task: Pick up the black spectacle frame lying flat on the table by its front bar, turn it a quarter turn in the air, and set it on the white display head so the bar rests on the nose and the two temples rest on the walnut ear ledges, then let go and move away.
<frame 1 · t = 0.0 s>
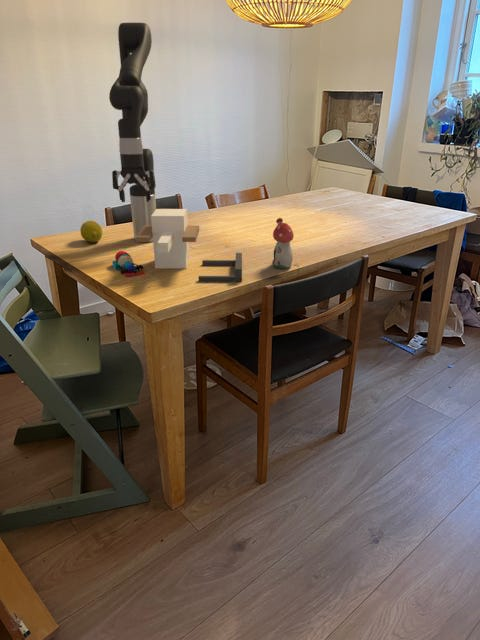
hand: (135, 201, 165), 17 cm above the table, tool pointing down, fingers open, 8 cm apart
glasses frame: (238, 272, 150), on the table
toy figure: (127, 270, 154), on the table
display head: (168, 274, 148), on the table
decorative ornament: (281, 266, 157), on the table
lemon: (92, 242, 182), on the table
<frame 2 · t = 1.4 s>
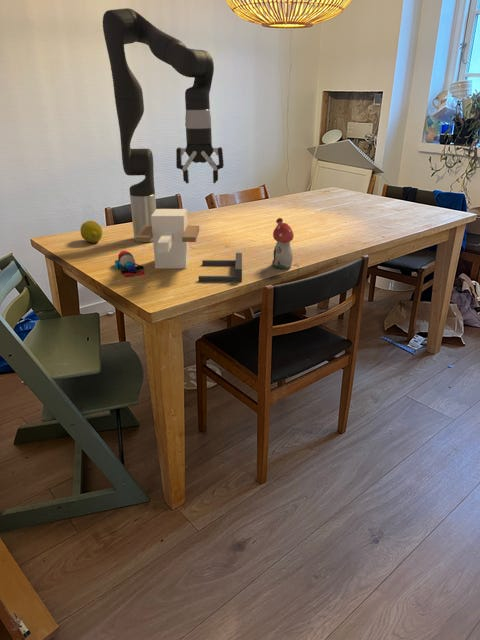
hand: (200, 182, 148), 26 cm above the table, tool pointing down, fingers open, 8 cm apart
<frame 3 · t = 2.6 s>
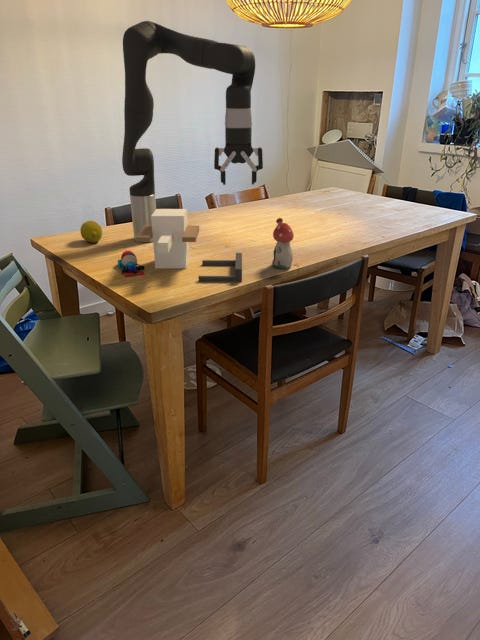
hand: (238, 184, 142), 26 cm above the table, tool pointing down, fingers open, 8 cm apart
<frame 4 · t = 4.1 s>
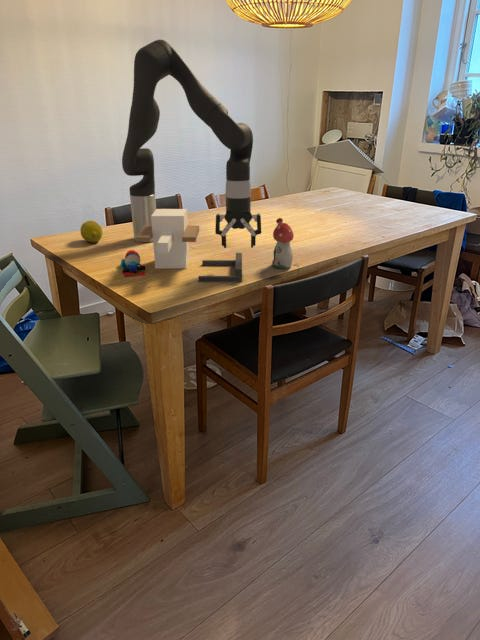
hand: (238, 247, 150), 7 cm above the table, tool pointing down, fingers open, 8 cm apart
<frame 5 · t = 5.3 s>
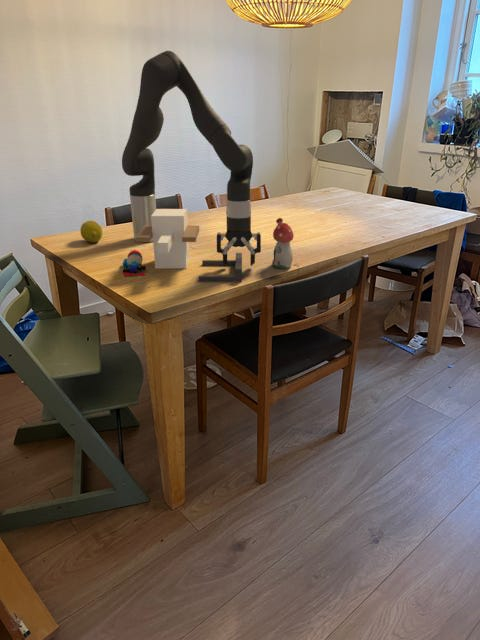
hand: (238, 264, 153), 1 cm above the table, tool pointing down, fingers open, 7 cm apart
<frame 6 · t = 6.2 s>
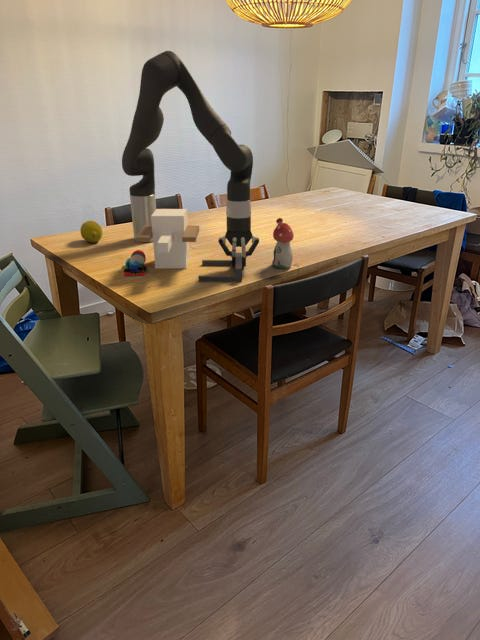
hand: (238, 267, 154), 0 cm above the table, tool pointing down, fingers closed on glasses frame, 2 cm apart
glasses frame: (238, 272, 150), on the table, touching gripper
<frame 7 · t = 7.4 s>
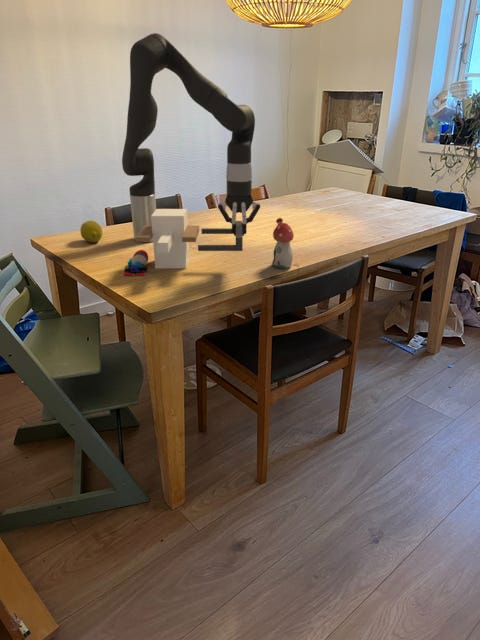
hand: (239, 235, 149), 11 cm above the table, tool pointing down, fingers closed on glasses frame, 2 cm apart
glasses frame: (239, 241, 147), point 10 cm above the table, touching gripper
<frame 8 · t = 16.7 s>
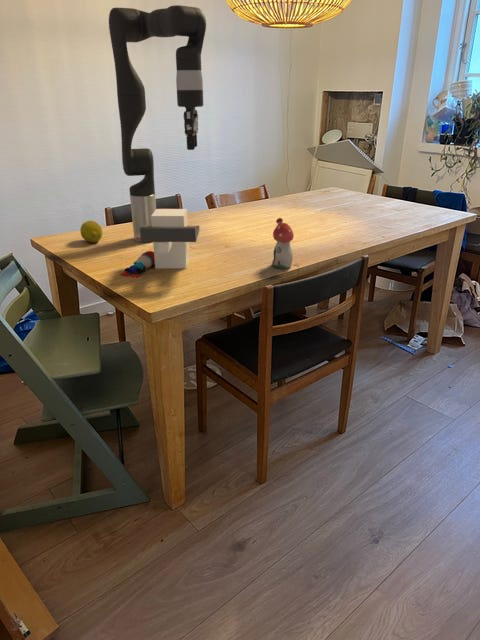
hand: (192, 148, 144), 36 cm above the table, tool pointing down, fingers open, 8 cm apart
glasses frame: (168, 240, 140), point 12 cm above the table, touching display head
toy figure: (141, 270, 153), on the table
everything else where it was.
at the end: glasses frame 1.6 cm from the target spot on the display head, point 12.0 cm above the display head's base; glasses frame tilted 0°; the gripper is holding nothing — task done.
